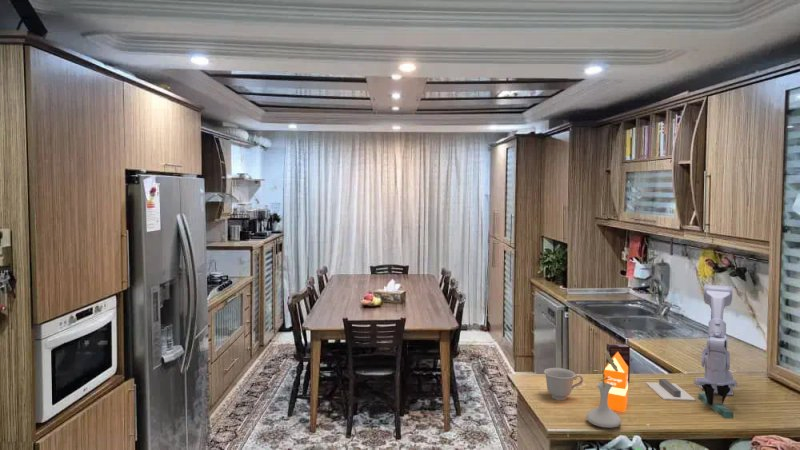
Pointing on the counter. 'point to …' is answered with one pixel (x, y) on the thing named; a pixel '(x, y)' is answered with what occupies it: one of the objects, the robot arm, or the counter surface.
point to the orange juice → (617, 384)
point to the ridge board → (667, 395)
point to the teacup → (561, 382)
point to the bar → (716, 405)
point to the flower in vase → (604, 404)
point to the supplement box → (623, 351)
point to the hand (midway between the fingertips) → (714, 404)
